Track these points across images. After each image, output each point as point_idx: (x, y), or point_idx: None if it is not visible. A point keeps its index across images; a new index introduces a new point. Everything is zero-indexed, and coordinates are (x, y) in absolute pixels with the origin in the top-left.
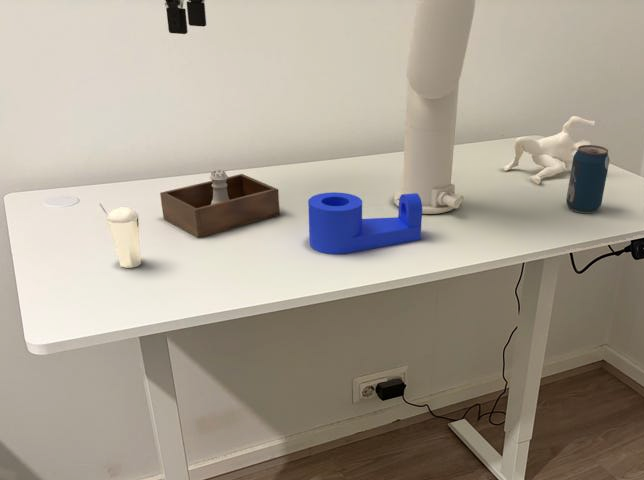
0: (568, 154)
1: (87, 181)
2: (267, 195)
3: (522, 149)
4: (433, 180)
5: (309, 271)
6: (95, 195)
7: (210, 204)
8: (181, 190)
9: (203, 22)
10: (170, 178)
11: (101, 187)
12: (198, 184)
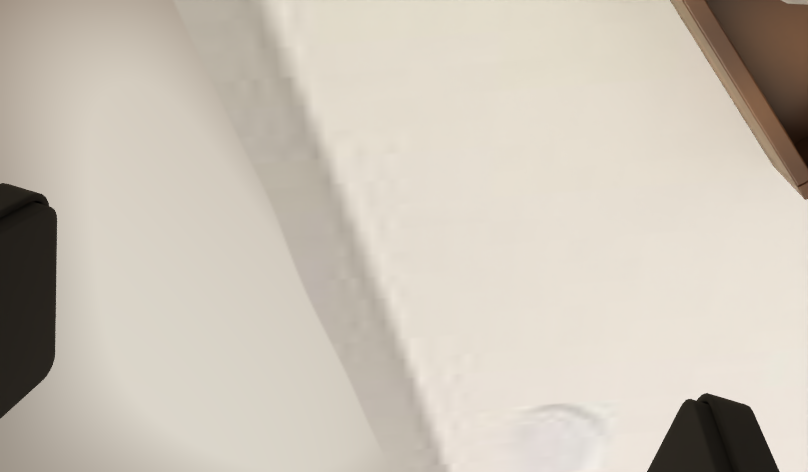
0: None
1: (382, 400)
2: None
3: None
4: None
5: None
6: (510, 372)
7: (799, 2)
8: (779, 123)
9: (28, 225)
10: (347, 175)
11: (437, 363)
12: (732, 60)
